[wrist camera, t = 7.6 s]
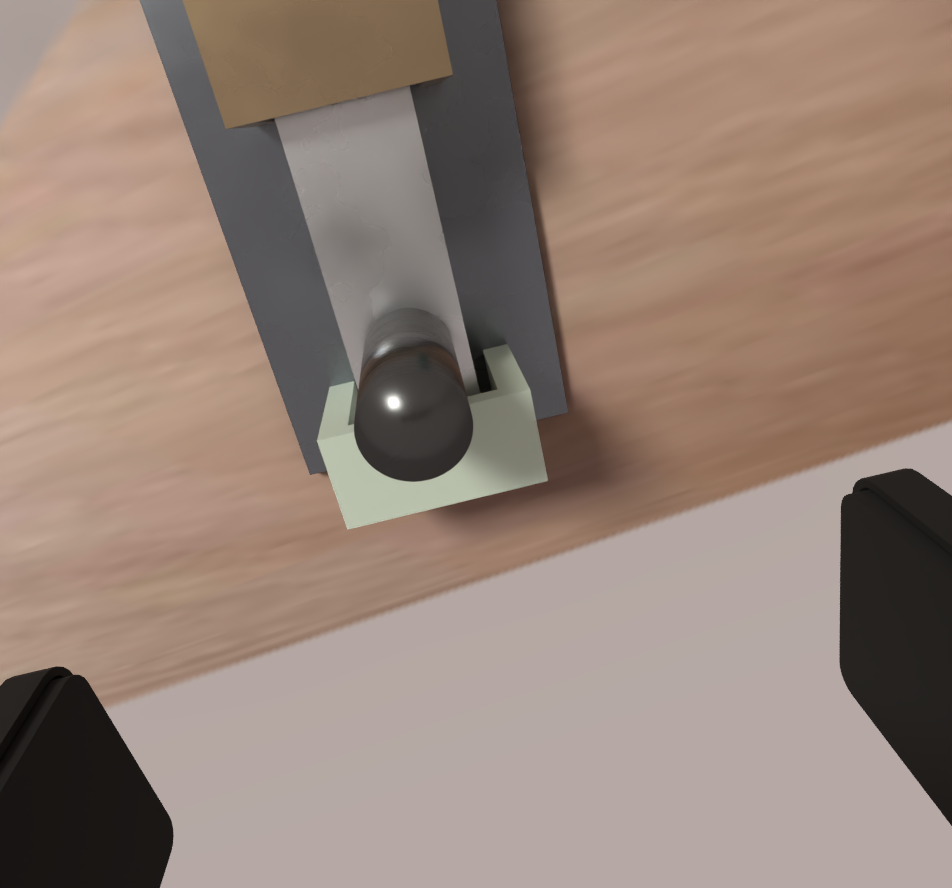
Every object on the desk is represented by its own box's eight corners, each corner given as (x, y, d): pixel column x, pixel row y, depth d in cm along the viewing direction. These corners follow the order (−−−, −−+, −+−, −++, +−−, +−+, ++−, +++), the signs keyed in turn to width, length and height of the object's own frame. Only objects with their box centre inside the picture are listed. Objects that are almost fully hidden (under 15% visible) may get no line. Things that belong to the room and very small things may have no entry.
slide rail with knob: (449, -251, 21) (467, -367, 16) (565, 407, 30) (599, 465, 25) (86, -165, 21) (-12, -253, 16) (311, 468, 30) (295, 539, 25)
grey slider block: (392, 11, 23) (391, -59, 14) (482, 406, 29) (523, 540, 20) (264, 41, 23) (179, -8, 14) (381, 430, 29) (376, 575, 20)
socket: (507, 344, 28) (530, 389, 24) (523, 423, 30) (548, 480, 25) (329, 387, 28) (316, 441, 24) (354, 464, 30) (347, 529, 25)
